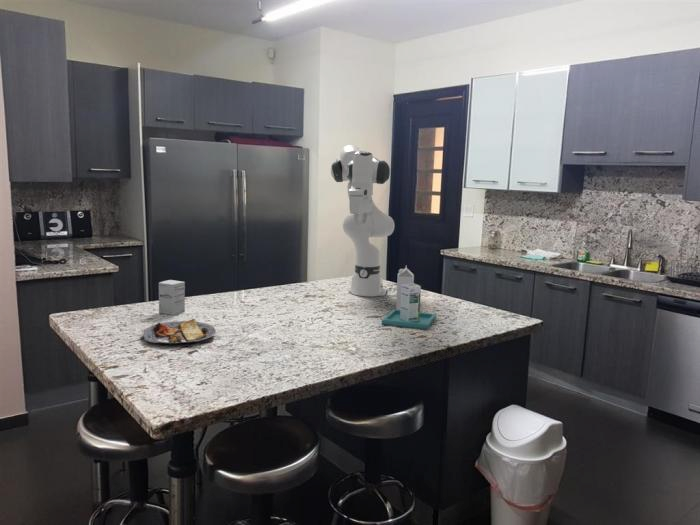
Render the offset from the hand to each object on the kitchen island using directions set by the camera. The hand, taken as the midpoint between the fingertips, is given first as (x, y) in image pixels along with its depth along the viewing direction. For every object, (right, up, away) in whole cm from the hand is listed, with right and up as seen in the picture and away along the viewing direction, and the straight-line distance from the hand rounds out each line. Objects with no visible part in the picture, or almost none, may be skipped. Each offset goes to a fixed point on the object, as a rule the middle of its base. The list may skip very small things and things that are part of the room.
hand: (360, 224), depth 225 cm
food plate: (-64, -42, -40) cm, 86 cm away
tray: (+19, -40, -10) cm, 46 cm away
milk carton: (+19, -37, +11) cm, 43 cm away
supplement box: (-76, -37, -10) cm, 85 cm away
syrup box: (+19, -40, -10) cm, 45 cm away
